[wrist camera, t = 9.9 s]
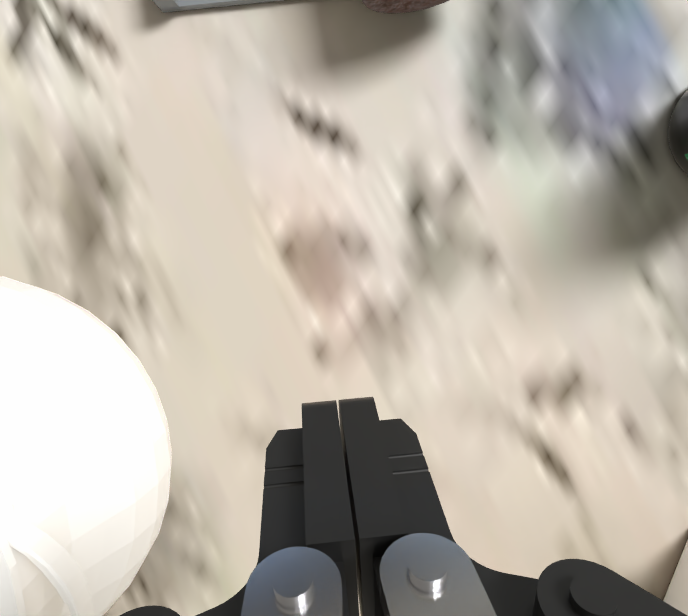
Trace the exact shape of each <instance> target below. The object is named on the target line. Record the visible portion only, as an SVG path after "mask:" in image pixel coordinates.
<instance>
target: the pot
mask: <svg viewBox="0 0 688 616" xmlns="http://www.w3.org/2000/svg"><path fill="white" fill-rule="evenodd" d="M171 460H172V450H171V442H170V435H169V428H168V421H167V418H166V415H165V412H164V410H163V407H162V404H161V401H160V398H159V395H158V392H157V390H156V388H155V386H154V384H153V383H152V381H151V379H150V377H149V376H148V374H147V372H146V371H145V369H144V367H143V365H142V364H141V362H140V360H139V359H138V358H137V357H136V355H135V354H134V353H133V352H132V351H131V350H130V349H129V347H128V346H127V345H126V344H125V343H124V342H123V340H122V339H121V338H120V337H119V336H118V335H117V333H115V332H114V331H113V330H112V329H110V328H109V327H108V326H107V325H105V324H104V323H103V322H102V321H101V320H99V319H98V318H97V317H96V316H94V315H93V314H92V313H91V312H89V311H88V310H86V309H84V308H82V307H80V306H79V305H77V304H75V303H73V302H71V301H69V300H67V299H66V298H64V297H62V296H60V295H58V294H56V293H53V292H50V291H47V290H44V289H42V288H38V287H35V286H32V285H29V284H26V283H23V282H20V281H17V280H13V279H10V278H7V277H4V276H0V616H103V615H104V614H105V613H106V612H107V611H108V610H109V609H110V607H111V606H112V605H113V604H114V603H115V602H116V601H117V599H118V598H119V597H120V596H121V595H122V594H123V593H124V591H125V590H126V589H127V588H128V587H129V586H130V584H131V582H132V581H133V579H134V577H135V576H136V574H137V572H138V570H139V569H140V567H141V565H142V564H143V562H144V560H145V558H146V556H147V554H148V553H149V551H150V549H151V547H152V545H153V543H154V542H155V540H156V538H157V536H158V534H159V532H160V528H161V525H162V521H163V518H164V514H165V511H166V507H167V504H168V499H169V488H170V475H171Z"/></svg>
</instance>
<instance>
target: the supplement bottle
mask: <svg viewBox="0 0 688 616" xmlns="http://www.w3.org/2000/svg"><path fill="white" fill-rule="evenodd" d="M668 139H669V146H670V150H671V152H672V155H673V157H674V159H675V161H676V162H677V164H678V165H679V166H680V168H681V169H682V170H683V171H684V172H685V173H687V174H688V90H687V91H686V92H685V93H684V94H683V95H682V97H681V98H680V99H679V101H678V103H677V104H676V106H675V108H674V110H673V113H672V116H671V119H670V123H669V130H668Z"/></svg>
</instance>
